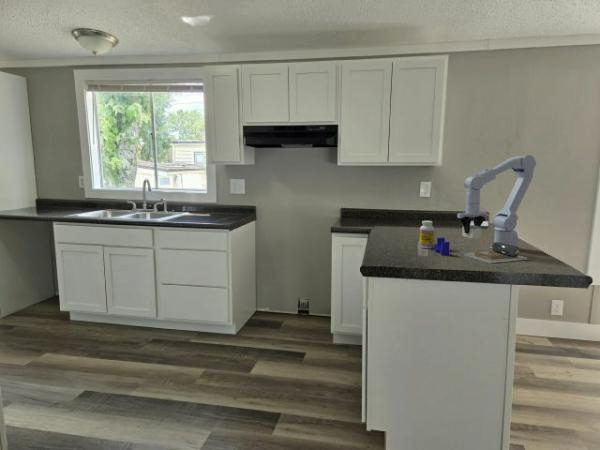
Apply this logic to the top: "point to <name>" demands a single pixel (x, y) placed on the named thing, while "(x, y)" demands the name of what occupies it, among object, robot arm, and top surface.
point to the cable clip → (442, 246)
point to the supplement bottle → (426, 235)
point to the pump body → (472, 232)
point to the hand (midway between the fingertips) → (471, 232)
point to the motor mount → (498, 254)
